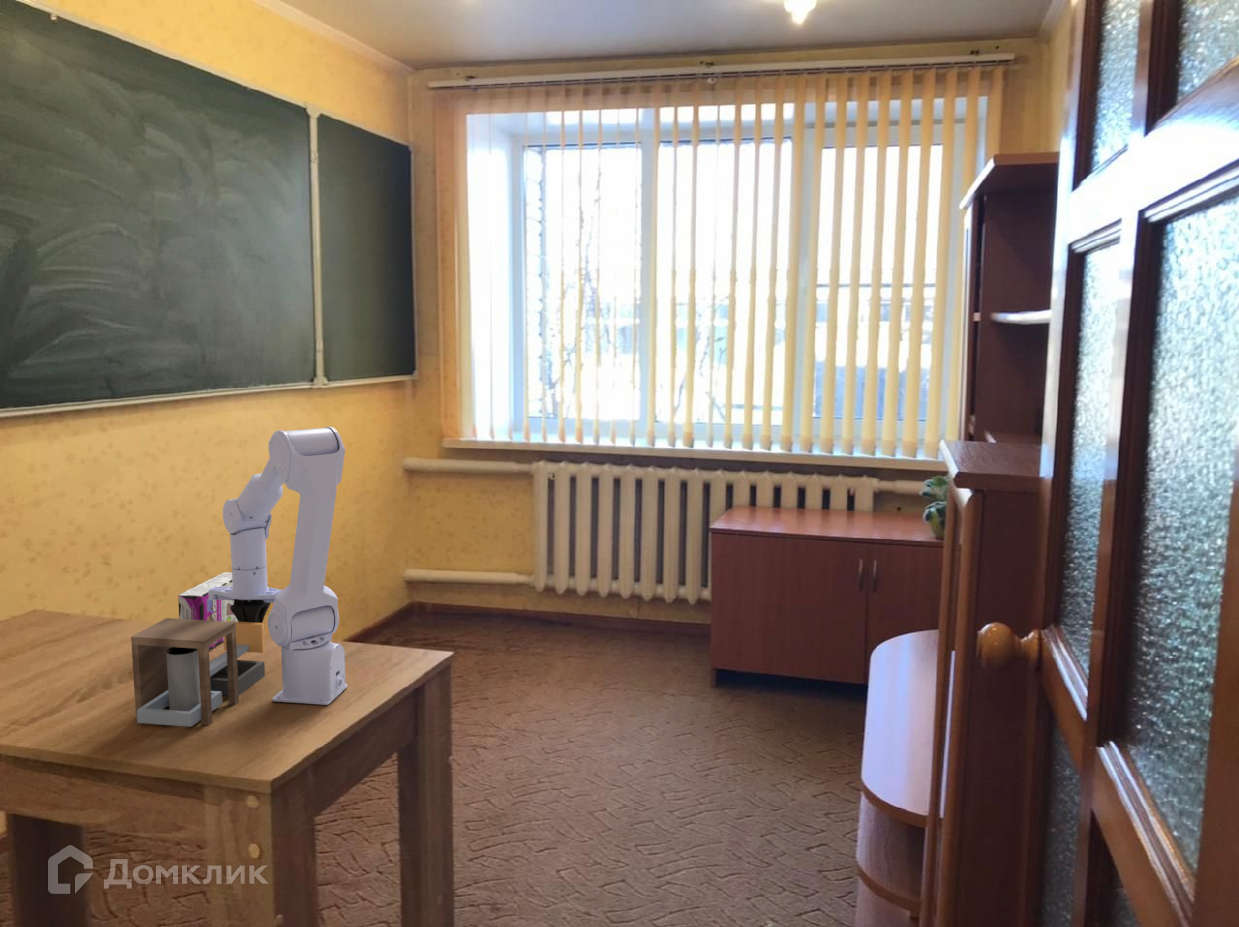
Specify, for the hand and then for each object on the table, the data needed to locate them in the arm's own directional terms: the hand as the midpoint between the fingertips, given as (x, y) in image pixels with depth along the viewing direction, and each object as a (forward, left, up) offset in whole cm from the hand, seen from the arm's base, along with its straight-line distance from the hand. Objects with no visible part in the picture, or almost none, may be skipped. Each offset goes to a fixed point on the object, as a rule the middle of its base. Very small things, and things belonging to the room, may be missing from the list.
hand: (252, 640), depth 164 cm
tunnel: (0, +20, -4) cm, 20 cm away
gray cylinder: (0, +21, -5) cm, 21 cm away
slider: (0, +14, -4) cm, 15 cm away
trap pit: (0, +9, -4) cm, 10 cm away
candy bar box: (+14, -3, +1) cm, 14 cm away
